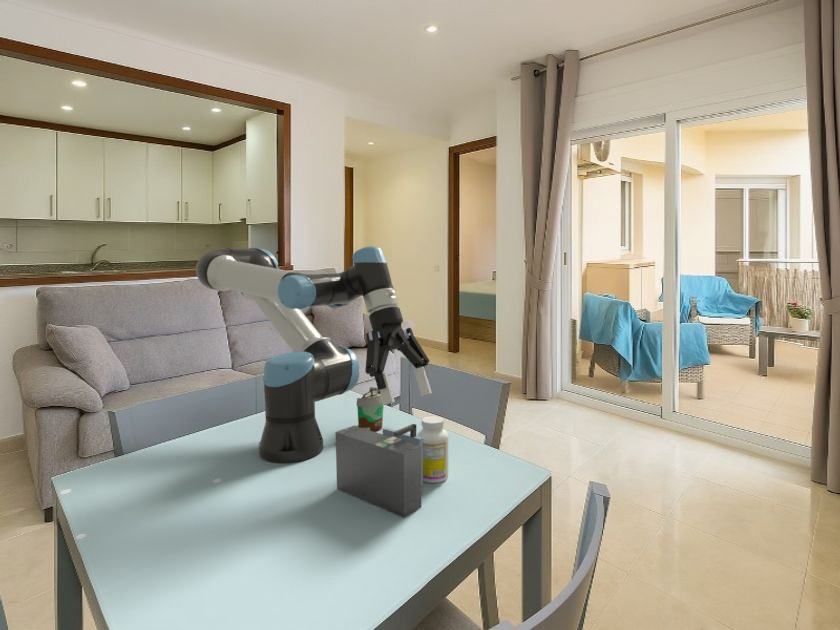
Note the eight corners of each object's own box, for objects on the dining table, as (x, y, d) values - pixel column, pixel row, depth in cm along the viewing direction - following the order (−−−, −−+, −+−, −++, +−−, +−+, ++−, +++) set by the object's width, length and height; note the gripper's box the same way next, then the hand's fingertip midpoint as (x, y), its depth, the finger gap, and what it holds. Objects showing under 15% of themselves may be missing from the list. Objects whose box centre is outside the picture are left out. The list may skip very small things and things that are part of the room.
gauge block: (336, 489, 102) (335, 431, 101) (354, 480, 106) (353, 424, 105) (404, 517, 91) (403, 452, 90) (421, 506, 95) (421, 444, 94)
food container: (379, 437, 132) (379, 399, 130) (357, 435, 133) (356, 398, 132) (391, 421, 144) (391, 387, 142) (370, 420, 145) (370, 386, 144)
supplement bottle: (426, 468, 112) (426, 412, 111) (453, 474, 109) (453, 417, 107) (411, 480, 106) (411, 421, 105) (439, 487, 103) (440, 426, 102)
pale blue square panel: (366, 482, 103) (365, 423, 102) (386, 472, 108) (385, 416, 106) (403, 496, 97) (403, 434, 95) (422, 485, 102) (422, 426, 100)
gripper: (357, 305, 106) (384, 403, 102) (427, 305, 126) (452, 387, 121) (334, 317, 110) (359, 411, 106) (405, 315, 130) (428, 394, 126)
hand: (408, 398), depth 114 cm, fingers open, 13 cm apart
